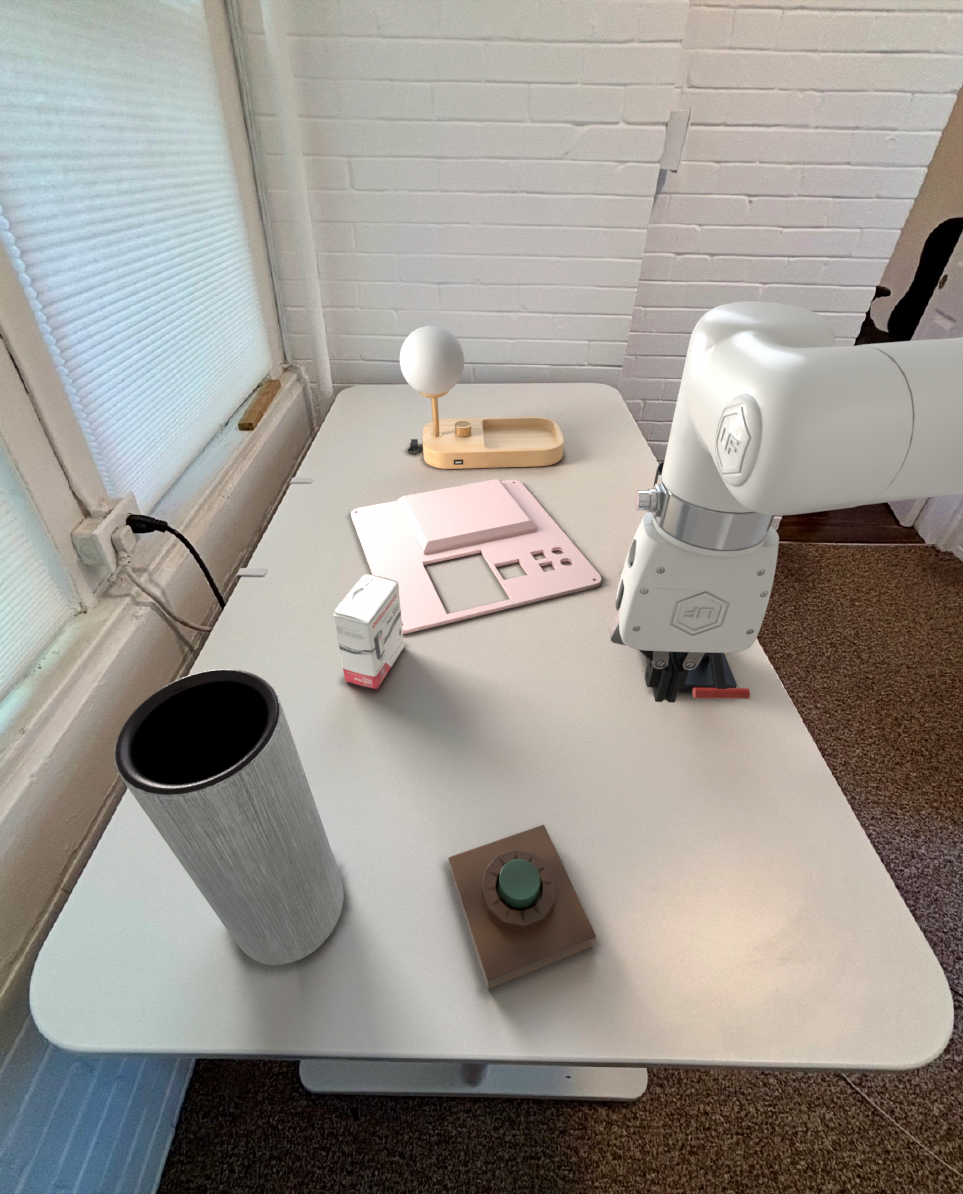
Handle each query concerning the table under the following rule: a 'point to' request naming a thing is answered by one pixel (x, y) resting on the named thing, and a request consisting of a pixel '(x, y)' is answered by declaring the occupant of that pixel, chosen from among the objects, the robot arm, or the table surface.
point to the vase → (235, 809)
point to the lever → (719, 683)
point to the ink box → (369, 630)
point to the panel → (469, 547)
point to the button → (519, 883)
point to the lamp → (470, 441)
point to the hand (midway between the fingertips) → (661, 689)
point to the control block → (513, 934)
